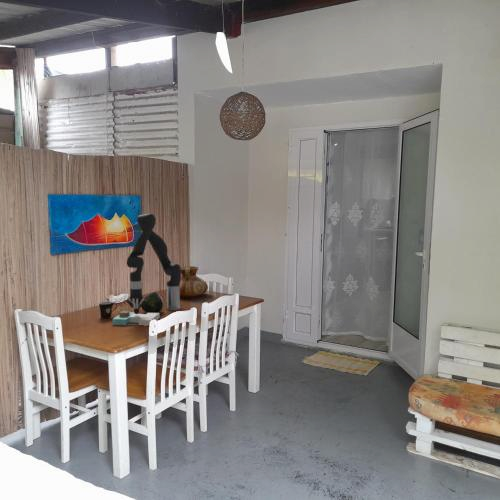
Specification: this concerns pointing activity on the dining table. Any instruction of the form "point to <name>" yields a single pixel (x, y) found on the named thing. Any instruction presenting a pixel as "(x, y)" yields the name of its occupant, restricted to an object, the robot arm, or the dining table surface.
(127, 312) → the walnut block
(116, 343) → the dining table surface
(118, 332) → the dining table surface
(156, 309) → the squash
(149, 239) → the robot arm
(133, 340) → the dining table surface
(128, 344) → the dining table surface
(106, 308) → the coffee mug
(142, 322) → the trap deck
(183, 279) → the jug
